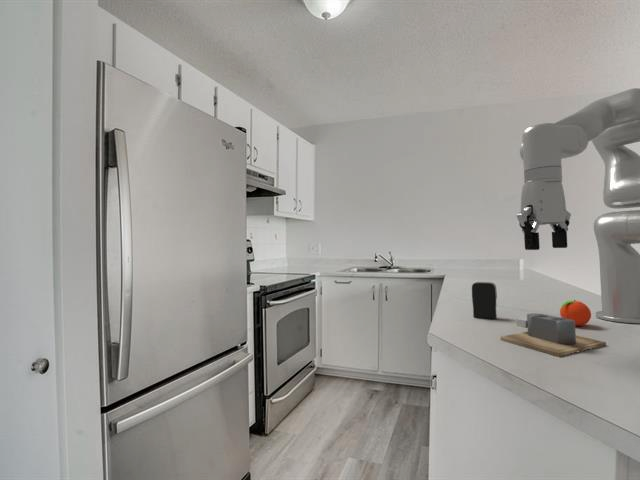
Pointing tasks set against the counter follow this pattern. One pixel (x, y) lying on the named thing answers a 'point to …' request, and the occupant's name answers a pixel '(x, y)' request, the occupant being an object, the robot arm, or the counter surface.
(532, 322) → the usb stick
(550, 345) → the board
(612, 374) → the counter surface
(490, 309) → the battery charger
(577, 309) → the clementine
